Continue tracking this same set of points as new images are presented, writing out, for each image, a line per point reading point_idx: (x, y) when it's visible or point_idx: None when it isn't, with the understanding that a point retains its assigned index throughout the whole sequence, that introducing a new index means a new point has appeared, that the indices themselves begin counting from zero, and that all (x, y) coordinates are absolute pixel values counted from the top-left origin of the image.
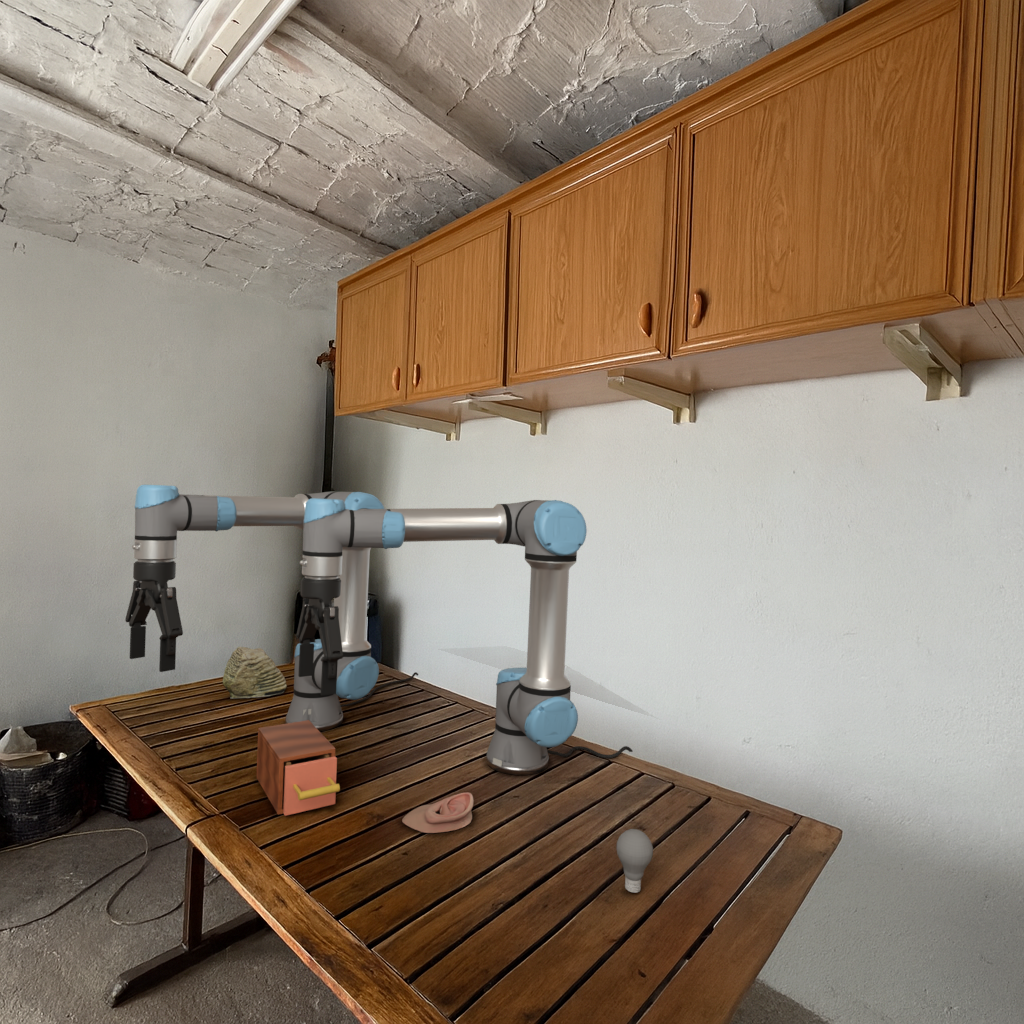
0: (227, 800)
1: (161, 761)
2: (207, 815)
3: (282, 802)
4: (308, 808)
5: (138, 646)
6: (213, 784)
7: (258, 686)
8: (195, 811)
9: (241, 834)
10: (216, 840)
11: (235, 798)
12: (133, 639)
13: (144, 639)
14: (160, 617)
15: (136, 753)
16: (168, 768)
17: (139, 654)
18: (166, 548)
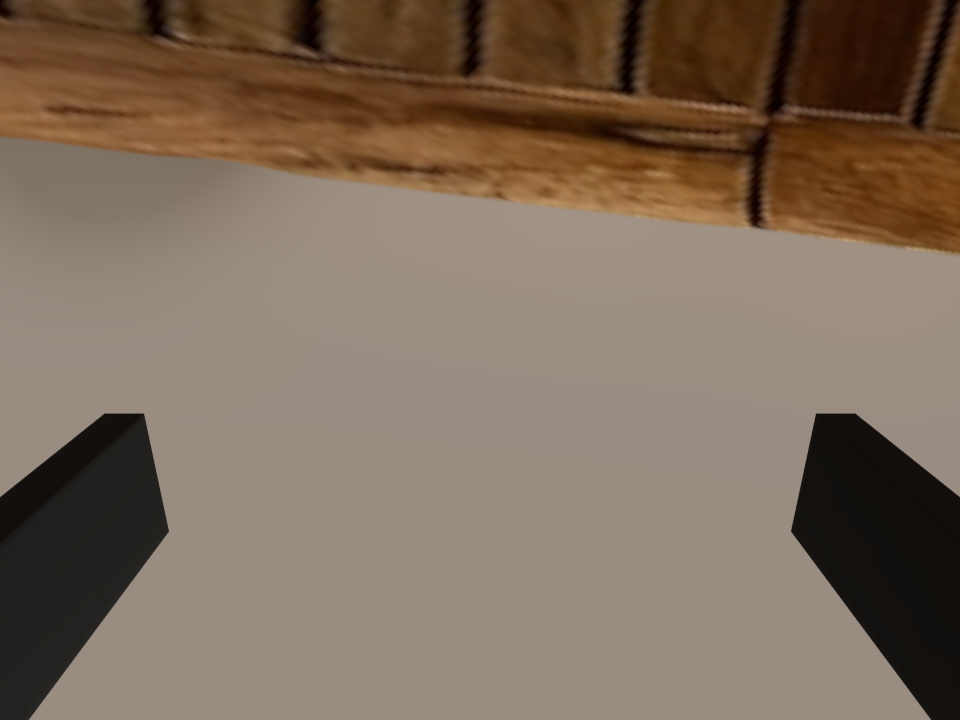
0: (709, 44)
1: (187, 52)
2: (747, 153)
3: None
4: None
5: (88, 554)
6: (547, 9)
7: None
8: (690, 166)
9: (944, 140)
10: (903, 212)
11: (720, 12)
12: (36, 683)
13: (13, 547)
14: None
15: (38, 89)
16: (278, 65)
17: (134, 481)
18: None
